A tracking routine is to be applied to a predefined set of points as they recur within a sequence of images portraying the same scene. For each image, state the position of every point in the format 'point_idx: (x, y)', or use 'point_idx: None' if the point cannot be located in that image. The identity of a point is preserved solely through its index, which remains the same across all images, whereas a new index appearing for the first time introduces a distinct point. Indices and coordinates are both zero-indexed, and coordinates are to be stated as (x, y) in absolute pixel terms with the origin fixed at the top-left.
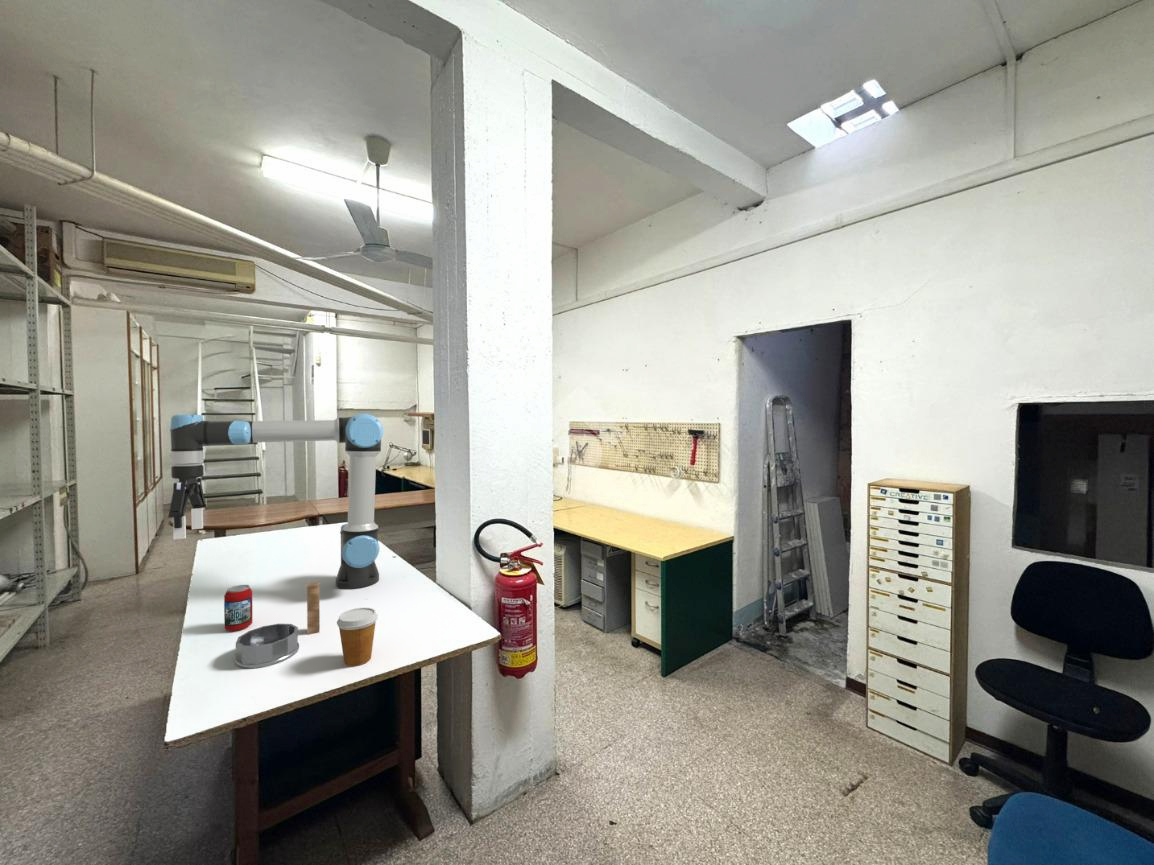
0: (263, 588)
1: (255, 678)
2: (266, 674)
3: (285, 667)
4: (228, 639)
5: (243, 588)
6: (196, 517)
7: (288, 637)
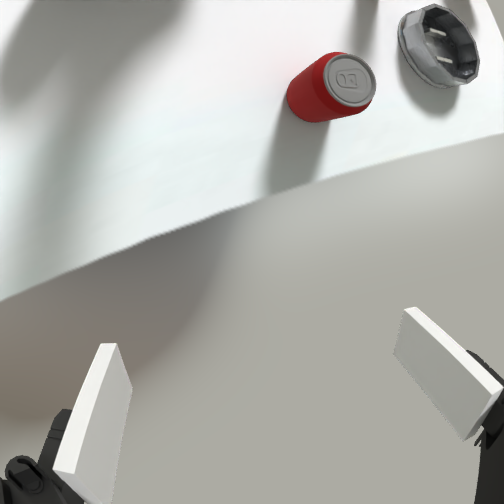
0: (42, 137)
1: None
2: None
3: None
4: None
5: (355, 67)
6: (107, 432)
7: (462, 21)
